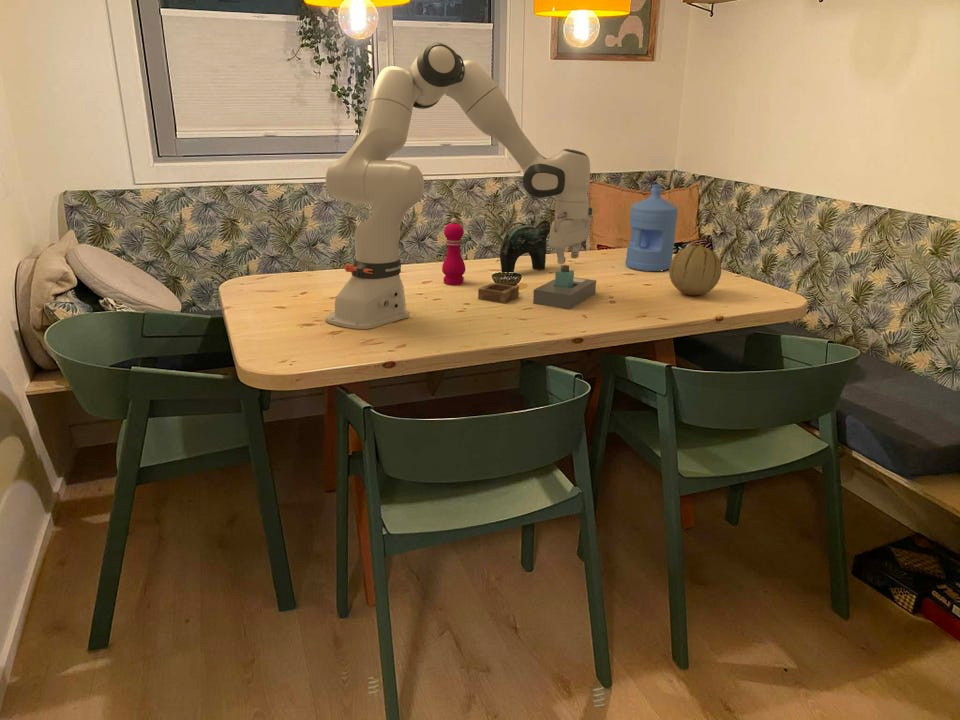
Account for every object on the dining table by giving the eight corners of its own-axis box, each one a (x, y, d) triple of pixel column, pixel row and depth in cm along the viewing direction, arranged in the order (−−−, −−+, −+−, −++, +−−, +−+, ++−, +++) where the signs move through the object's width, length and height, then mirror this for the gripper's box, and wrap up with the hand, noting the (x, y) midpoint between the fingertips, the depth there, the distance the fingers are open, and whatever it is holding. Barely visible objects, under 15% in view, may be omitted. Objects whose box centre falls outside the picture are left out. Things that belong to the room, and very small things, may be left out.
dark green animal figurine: (539, 266, 239) (541, 207, 232) (552, 269, 234) (555, 209, 227) (496, 274, 227) (497, 212, 220) (509, 278, 222) (511, 215, 215)
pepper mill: (466, 280, 218) (467, 216, 211) (463, 286, 211) (464, 220, 204) (443, 279, 218) (443, 215, 211) (440, 285, 211) (440, 219, 204)
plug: (566, 300, 197) (569, 268, 194) (554, 298, 199) (555, 266, 196) (572, 297, 200) (574, 265, 197) (559, 295, 202) (561, 263, 199)
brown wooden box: (504, 303, 193) (505, 293, 192) (478, 299, 197) (478, 288, 196) (518, 296, 200) (518, 286, 199) (492, 292, 204) (492, 282, 203)
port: (569, 309, 189) (570, 294, 187) (533, 303, 194) (533, 288, 192) (595, 293, 205) (596, 279, 204) (561, 288, 210) (561, 274, 209)
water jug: (646, 260, 250) (654, 181, 240) (680, 269, 238) (690, 186, 228) (615, 265, 242) (622, 183, 232) (649, 274, 230) (658, 188, 220)
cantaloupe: (673, 300, 199) (679, 248, 194) (662, 287, 213) (667, 239, 208) (724, 301, 199) (732, 250, 194) (710, 288, 213) (716, 240, 208)
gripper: (566, 216, 180) (563, 268, 185) (595, 208, 197) (591, 256, 202) (544, 213, 183) (542, 265, 188) (574, 206, 200) (571, 253, 204)
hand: (568, 260), depth 195 cm, fingers open, 8 cm apart
